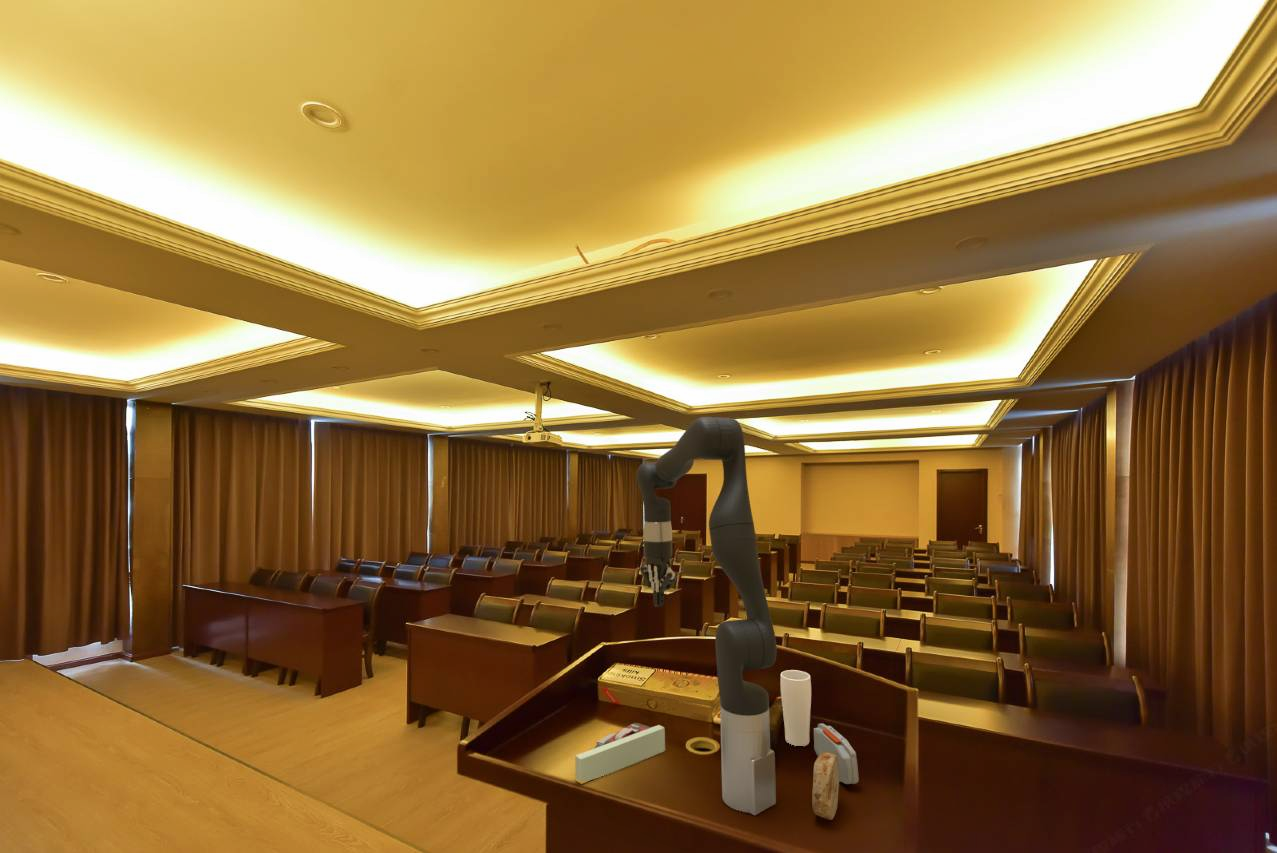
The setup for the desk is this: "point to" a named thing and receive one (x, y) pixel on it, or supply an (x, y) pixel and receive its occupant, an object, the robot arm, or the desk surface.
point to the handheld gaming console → (837, 752)
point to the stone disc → (825, 786)
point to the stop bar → (619, 753)
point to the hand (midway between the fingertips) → (658, 605)
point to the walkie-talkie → (622, 734)
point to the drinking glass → (796, 706)
